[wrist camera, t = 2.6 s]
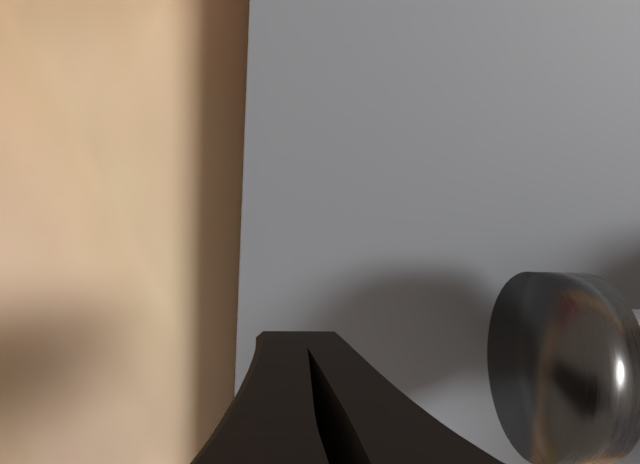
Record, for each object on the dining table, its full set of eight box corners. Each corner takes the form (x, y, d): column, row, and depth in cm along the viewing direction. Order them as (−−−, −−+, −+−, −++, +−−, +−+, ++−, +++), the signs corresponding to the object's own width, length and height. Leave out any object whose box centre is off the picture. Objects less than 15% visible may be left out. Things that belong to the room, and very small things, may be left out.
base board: (854, 496, 19) (886, 520, 18) (228, 522, 16) (228, 552, 15) (1053, 42, 15) (1109, 43, 14) (250, -40, 12) (251, -46, 11)
